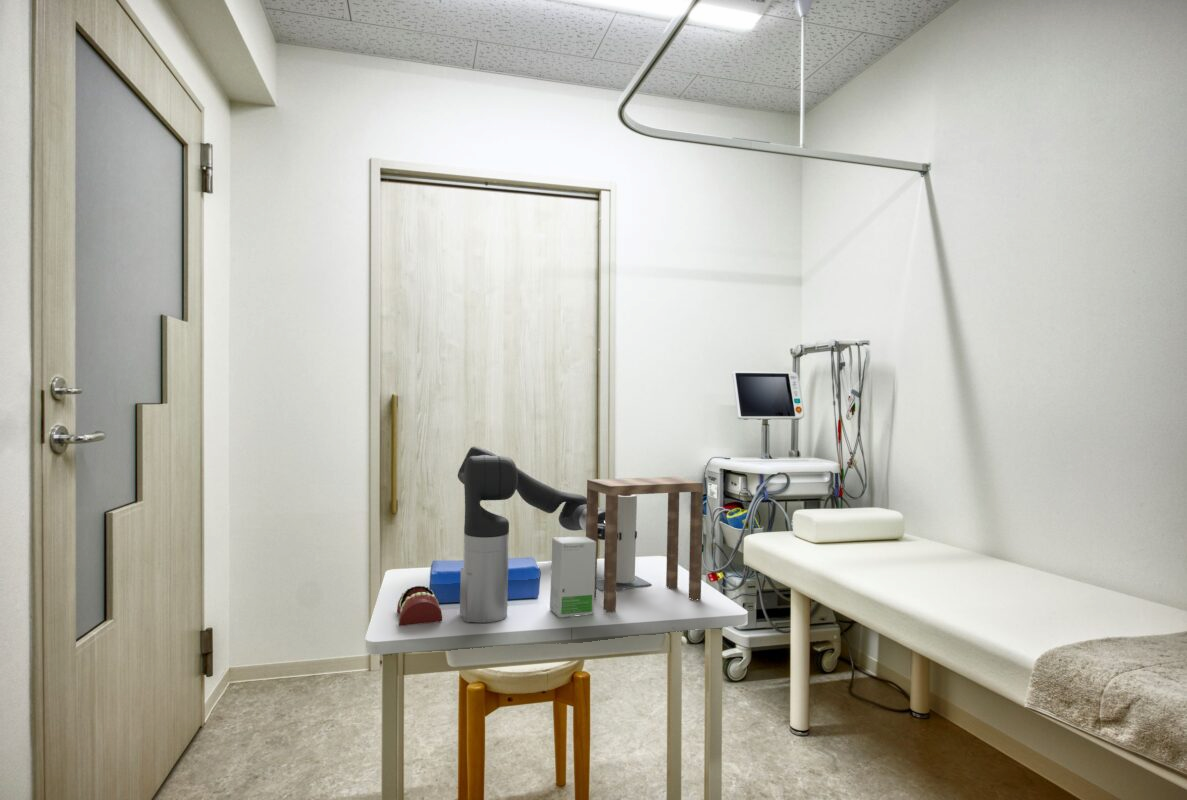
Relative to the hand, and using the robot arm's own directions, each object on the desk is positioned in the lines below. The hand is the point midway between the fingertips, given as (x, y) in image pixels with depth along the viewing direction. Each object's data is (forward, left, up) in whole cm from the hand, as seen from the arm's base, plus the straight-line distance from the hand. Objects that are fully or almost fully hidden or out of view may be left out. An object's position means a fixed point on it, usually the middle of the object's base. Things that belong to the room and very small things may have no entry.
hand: (627, 535), depth 154 cm
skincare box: (-19, -11, -13) cm, 26 cm away
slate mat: (0, +4, -13) cm, 13 cm away
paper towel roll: (0, +3, -12) cm, 12 cm away
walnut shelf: (0, -8, -13) cm, 15 cm away
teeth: (-50, -3, -13) cm, 52 cm away
